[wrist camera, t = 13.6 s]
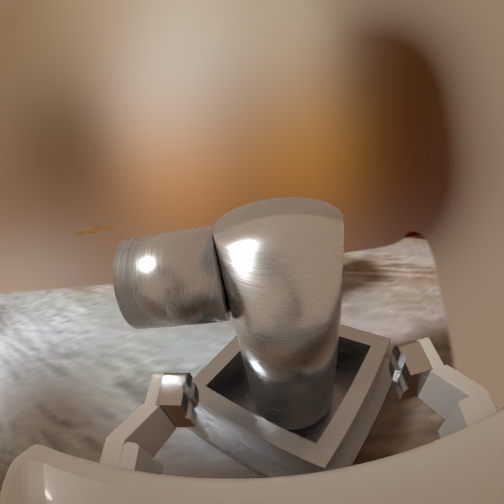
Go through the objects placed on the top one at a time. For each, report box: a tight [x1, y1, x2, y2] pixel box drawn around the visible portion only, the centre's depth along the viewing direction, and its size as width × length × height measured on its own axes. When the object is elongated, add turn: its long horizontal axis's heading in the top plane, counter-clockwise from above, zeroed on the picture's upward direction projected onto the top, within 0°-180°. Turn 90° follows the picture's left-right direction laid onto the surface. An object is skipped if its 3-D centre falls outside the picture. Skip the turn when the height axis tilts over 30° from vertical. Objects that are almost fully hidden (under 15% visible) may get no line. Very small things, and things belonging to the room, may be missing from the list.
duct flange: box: [187, 324, 393, 478], centre depth 16 cm, size 11×11×4 cm
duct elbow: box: [113, 197, 344, 430], centre depth 14 cm, size 9×5×12 cm, turn 93°
